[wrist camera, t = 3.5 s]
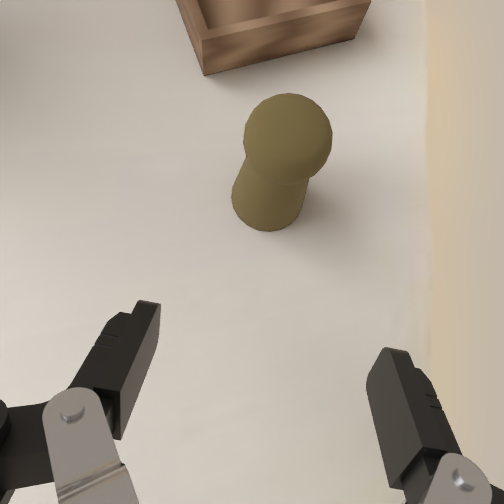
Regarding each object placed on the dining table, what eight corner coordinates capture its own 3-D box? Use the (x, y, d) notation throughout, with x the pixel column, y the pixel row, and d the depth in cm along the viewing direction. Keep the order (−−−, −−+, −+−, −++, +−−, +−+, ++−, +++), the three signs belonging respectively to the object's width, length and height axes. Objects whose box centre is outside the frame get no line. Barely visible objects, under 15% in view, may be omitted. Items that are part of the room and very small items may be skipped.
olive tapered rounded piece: (309, 175, 31) (357, 92, 20) (293, 240, 30) (334, 188, 19) (242, 155, 31) (254, 61, 20) (222, 219, 29) (224, 156, 19)
